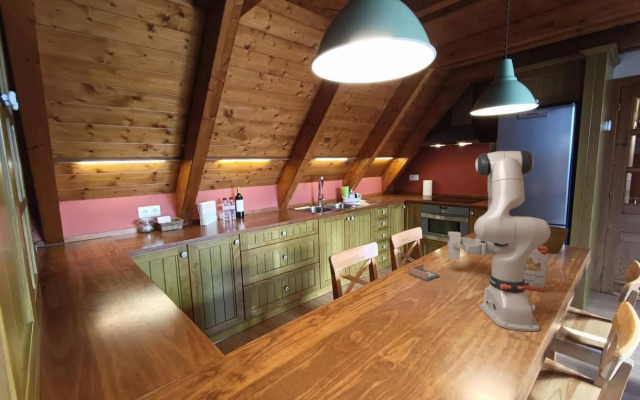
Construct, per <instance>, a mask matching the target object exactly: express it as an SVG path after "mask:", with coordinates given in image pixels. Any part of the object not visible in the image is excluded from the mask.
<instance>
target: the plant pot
mask: <svg viewBox="0 0 640 400" xmlns="http://www.w3.org/2000/svg"><path fill="white" fill-rule="evenodd" d="M549 227H550V231H551V233H550V237H549V239H548V240H547V241H546V242H545V243H544V244H542V245H541V246H546V247H547V248H548V249H549V251H548V254H559V253H560V252H561V250H562V248H563V246H564V244H565V242H566V239H567V236H568V233H569V229H567V228H565V227H560V226H551V225H549Z"/></svg>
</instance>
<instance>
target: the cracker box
mask: <svg viewBox="0 0 640 400" xmlns="http://www.w3.org/2000/svg"><path fill="white" fill-rule="evenodd" d="M548 251H549V249H548V248H547V247H546V246H543V245H540V246H538V247H537V248H536V249H534V250H533V251H532V253H531V254H530V255H529V257H528V259H527V261H526V265H525V271H524V280H525V289H526V290H528V291H529V290H530V291H536V292H541V293H544V292H545V287H546V275H547V269H548V261H549V260H548V259H549V253H548Z"/></svg>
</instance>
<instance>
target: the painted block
mask: <svg viewBox="0 0 640 400" xmlns="http://www.w3.org/2000/svg"><path fill="white" fill-rule="evenodd" d="M461 237H462V233H461V232H459V231H447V248H446V249H447V253H446V257H447V258H448V260H461V259H460V258H461V248H456V247H453V244H454V243H455V244H461Z"/></svg>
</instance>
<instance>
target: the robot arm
mask: <svg viewBox="0 0 640 400" xmlns="http://www.w3.org/2000/svg"><path fill="white" fill-rule="evenodd" d="M534 160H535V159H534V157H533V154H532V153H531V152H530V151H529V150H521V149H520V150H505V151H503V150H499V151H493V152H488V153H487V152H483V153H480V154H478V156H477V157H476V159H475V164H474V166H475V167H474V168H475V171H476V172H477V174H478V175H480V176H483V177H487V194H488V195H487V197H488V198H487V211H486V212H485V213H484V214H483V215H481V216H479V217H478V218H477V220H475V223H474V226H473V230H474V233H475V238H471V237H465V236H461V244H455V243H454V244H453V247H456V248H460V250H463V251H464V252H465V253H467V254H472V255H480V256H483V257H484V256H486V255H490V254H491V255H493V256H492V258H491V260H492V261H491V273H490V274H489V277H488V278H489V285H488V286H486V287H485V289H484V296H483V303H479V306H478V308H480V310H481V311H482V312H483V313H484V314H485V315H486V316H487V317H488V318H490V320H492V322H493V323H495V325H496V326H498V327H501V328H505V329H508V330H514V331H520V332H521V331H523V332H537V331H540V330H541V328H540V325H539V324H538V321H537V318H536V317H535V315H534V314H533V312H535V311H536V306H535V304H531V303H530V301H531V297H528V294H527V293H526V290H527V289H525V280H524V271H525V265H526V261H527V259H528V257H529V255H530V254H531V253H532V251H533V250H534V249H536V248H537V247H538V246H543V245H542V244H544V243H545V242H546V241H547V240H548V239H549V237H550V233H551V231H550V227H549V226H550V225H549V223H548V222H547V221H546V220H544V219H543V218H538V217H532V216H520V215H510V210H513V209H515V208H518V207H519V206H521V205H522V204H523V203H524V202H525V198H526V195H525V186H524V185H525V183H524V176H523V175H526V174H528V173H530V172H531V171H532V170H533V167H534V162H535V161H534Z"/></svg>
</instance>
